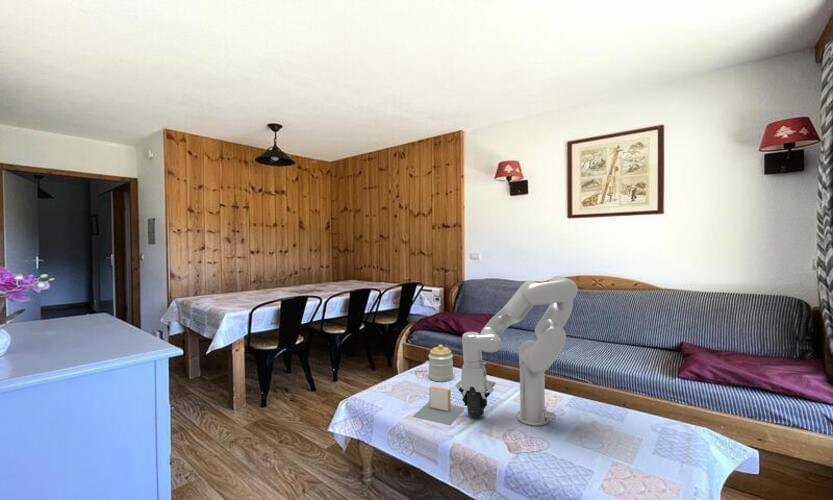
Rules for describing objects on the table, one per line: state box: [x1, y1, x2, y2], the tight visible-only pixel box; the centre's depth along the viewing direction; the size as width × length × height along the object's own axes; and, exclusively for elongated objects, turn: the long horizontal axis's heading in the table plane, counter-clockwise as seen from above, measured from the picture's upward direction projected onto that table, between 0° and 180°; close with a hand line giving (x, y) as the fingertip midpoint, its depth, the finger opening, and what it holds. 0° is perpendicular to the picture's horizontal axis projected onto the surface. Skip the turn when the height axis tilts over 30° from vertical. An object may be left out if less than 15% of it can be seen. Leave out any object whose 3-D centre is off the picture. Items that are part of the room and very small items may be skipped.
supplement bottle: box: [466, 387, 485, 418], centre depth 155 cm, size 7×7×12 cm
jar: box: [428, 344, 454, 383], centre depth 201 cm, size 13×13×18 cm
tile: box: [429, 385, 452, 412], centre depth 163 cm, size 9×2×9 cm, turn 63°
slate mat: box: [412, 400, 466, 426], centre depth 160 cm, size 17×17×1 cm
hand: (475, 405), depth 155 cm, fingers closed on supplement bottle, 6 cm apart
